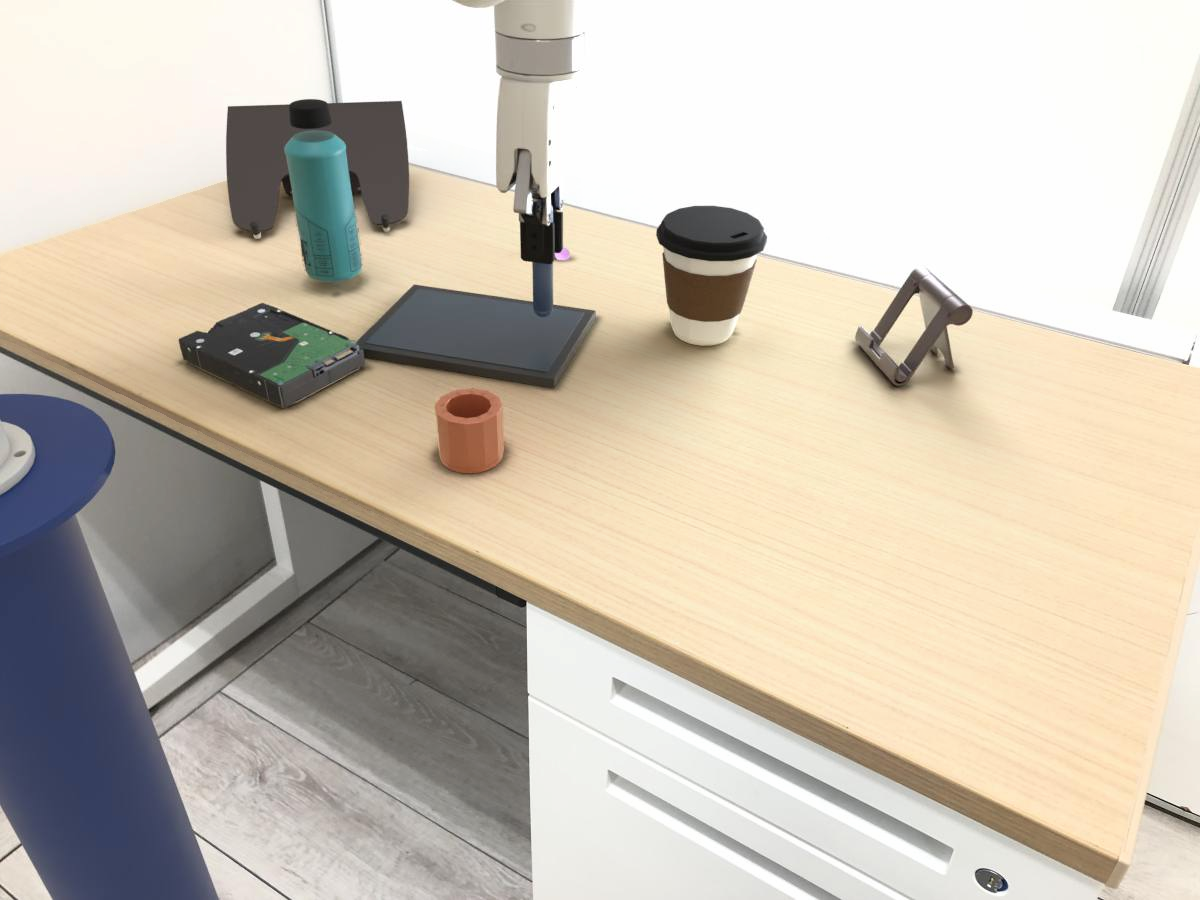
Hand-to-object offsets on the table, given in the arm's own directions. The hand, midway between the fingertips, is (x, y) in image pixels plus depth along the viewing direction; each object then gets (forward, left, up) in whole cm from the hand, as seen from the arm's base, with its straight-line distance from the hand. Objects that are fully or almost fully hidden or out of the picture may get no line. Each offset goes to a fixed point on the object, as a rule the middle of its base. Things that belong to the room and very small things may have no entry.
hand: (542, 254), depth 92 cm
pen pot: (-20, 0, -10) cm, 22 cm away
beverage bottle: (+7, +27, -10) cm, 30 cm away
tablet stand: (+8, -36, -10) cm, 38 cm away
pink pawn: (+22, +5, -10) cm, 25 cm away
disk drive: (-11, +24, -10) cm, 28 cm away
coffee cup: (+8, -15, -10) cm, 20 cm away
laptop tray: (+27, +39, -10) cm, 49 cm away
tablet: (0, +7, -10) cm, 12 cm away
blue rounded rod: (0, 0, -7) cm, 7 cm away
